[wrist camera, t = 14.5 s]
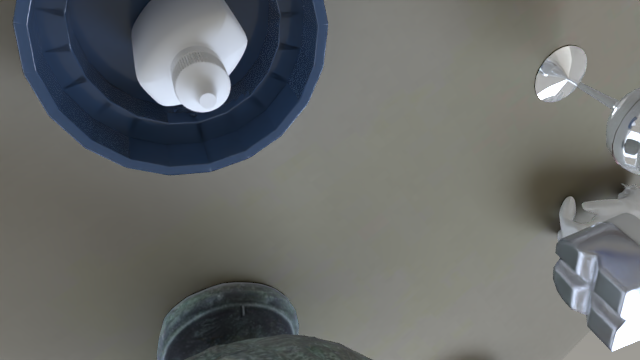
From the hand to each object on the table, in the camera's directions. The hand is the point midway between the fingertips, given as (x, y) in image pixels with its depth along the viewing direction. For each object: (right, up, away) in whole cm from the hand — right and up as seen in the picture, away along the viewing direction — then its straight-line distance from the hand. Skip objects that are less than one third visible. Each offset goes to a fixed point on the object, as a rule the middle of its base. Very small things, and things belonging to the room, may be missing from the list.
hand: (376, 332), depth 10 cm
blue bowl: (-10, +13, +21) cm, 27 cm away
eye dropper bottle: (-10, +13, +21) cm, 26 cm away
